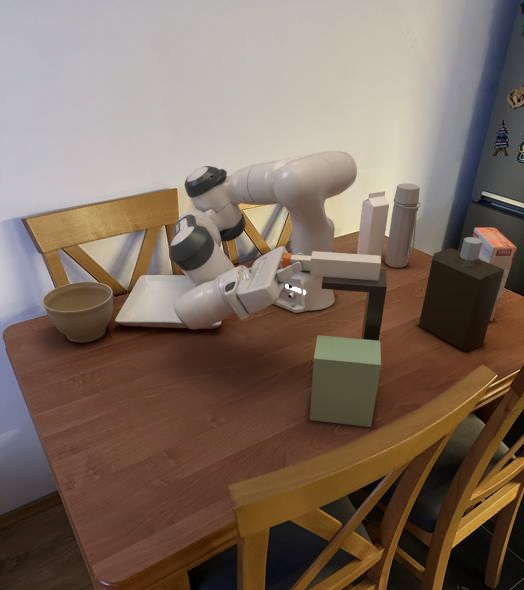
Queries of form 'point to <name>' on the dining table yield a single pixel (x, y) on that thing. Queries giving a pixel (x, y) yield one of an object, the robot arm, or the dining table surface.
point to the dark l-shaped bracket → (373, 300)
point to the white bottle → (338, 265)
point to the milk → (373, 224)
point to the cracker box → (495, 255)
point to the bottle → (460, 295)
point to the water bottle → (402, 225)
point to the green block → (345, 380)
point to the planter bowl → (80, 310)
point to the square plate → (156, 302)
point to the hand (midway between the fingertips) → (302, 260)
